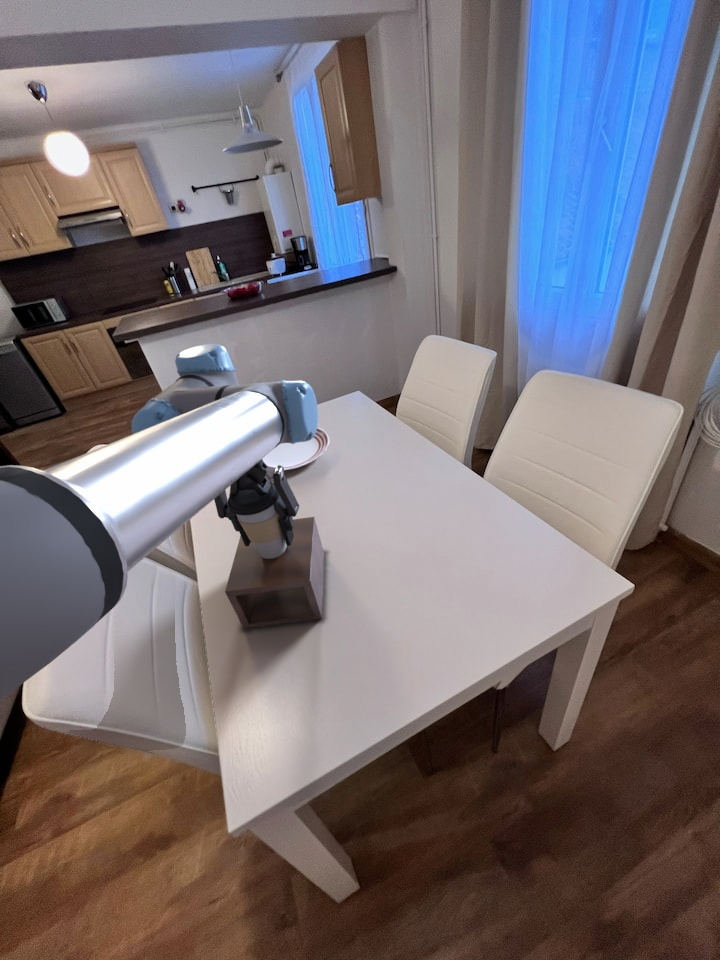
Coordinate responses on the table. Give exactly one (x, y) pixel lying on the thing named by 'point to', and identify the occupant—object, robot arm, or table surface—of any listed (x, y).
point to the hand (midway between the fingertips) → (269, 540)
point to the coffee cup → (260, 520)
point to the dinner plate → (298, 452)
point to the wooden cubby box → (279, 580)
